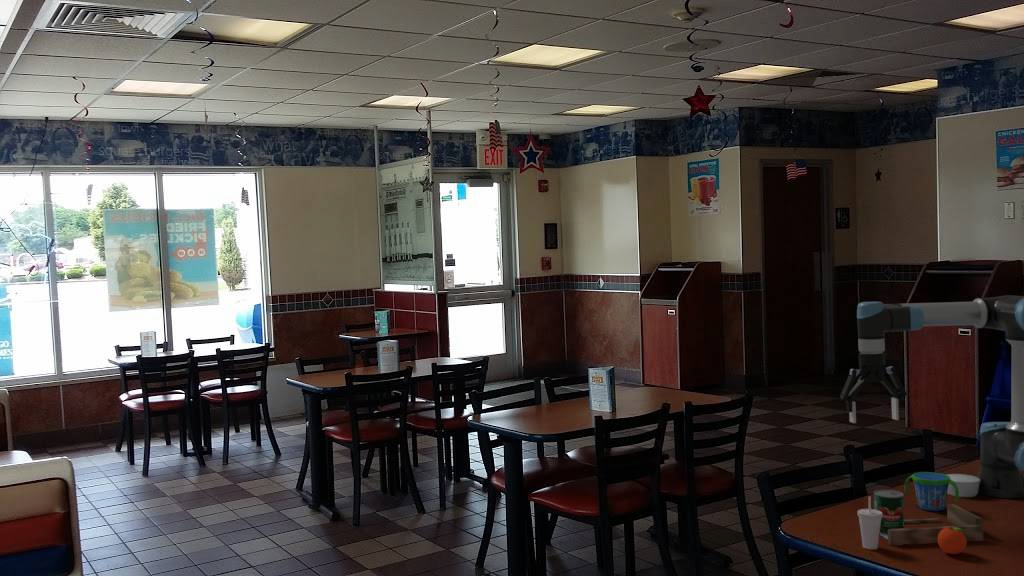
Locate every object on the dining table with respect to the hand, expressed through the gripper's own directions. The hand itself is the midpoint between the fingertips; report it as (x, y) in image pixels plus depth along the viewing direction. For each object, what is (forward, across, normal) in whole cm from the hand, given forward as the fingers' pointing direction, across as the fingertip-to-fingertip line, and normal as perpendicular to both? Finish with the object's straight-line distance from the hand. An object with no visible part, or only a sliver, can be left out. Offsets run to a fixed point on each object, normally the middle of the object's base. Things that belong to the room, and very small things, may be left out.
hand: (874, 421), depth 275 cm
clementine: (+28, -1, +40) cm, 49 cm away
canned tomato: (+28, +7, +21) cm, 35 cm away
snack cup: (+28, -17, +1) cm, 33 cm away
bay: (+28, -2, +22) cm, 36 cm away
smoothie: (+28, +18, +32) cm, 46 cm away
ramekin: (+29, -35, -13) cm, 47 cm away
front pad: (+28, +6, +22) cm, 36 cm away
